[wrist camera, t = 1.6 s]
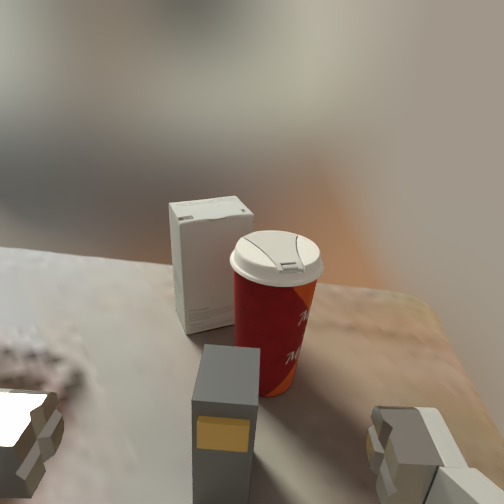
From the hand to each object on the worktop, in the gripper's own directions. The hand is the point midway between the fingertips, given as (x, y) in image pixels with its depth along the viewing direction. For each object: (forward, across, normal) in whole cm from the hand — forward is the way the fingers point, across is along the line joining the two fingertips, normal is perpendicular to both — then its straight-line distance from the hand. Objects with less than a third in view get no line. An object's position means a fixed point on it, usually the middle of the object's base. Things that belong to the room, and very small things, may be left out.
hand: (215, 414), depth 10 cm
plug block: (+12, +1, +21) cm, 24 cm away
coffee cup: (+23, -2, +21) cm, 31 cm away
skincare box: (+32, +4, +20) cm, 39 cm away
